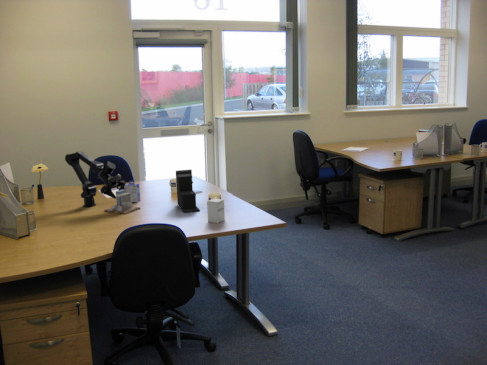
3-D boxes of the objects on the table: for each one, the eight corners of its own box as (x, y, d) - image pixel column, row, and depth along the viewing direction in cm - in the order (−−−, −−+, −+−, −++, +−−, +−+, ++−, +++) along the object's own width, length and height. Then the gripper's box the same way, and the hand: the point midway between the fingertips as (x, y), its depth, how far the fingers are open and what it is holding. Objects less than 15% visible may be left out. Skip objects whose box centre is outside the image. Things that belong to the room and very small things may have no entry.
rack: (104, 211, 302) (102, 194, 300) (119, 206, 314) (118, 190, 312) (125, 214, 294) (123, 197, 291) (140, 208, 306) (138, 192, 303)
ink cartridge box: (140, 200, 329) (139, 180, 326) (138, 202, 324) (136, 182, 321) (127, 200, 330) (125, 180, 327) (124, 202, 325) (122, 182, 322)
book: (117, 209, 302) (115, 191, 299) (123, 207, 307) (122, 189, 305) (120, 209, 300) (119, 191, 298) (127, 207, 306) (125, 189, 303)
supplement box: (218, 223, 267) (217, 202, 265) (207, 221, 271) (206, 200, 269) (225, 220, 274) (224, 199, 271) (214, 218, 277) (214, 198, 275)
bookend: (200, 211, 295) (198, 175, 290) (183, 213, 292) (181, 176, 287) (193, 203, 317) (191, 169, 312) (177, 204, 313) (175, 170, 309)
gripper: (101, 173, 293) (116, 191, 290) (122, 168, 309) (136, 186, 306) (94, 184, 299) (108, 202, 296) (115, 179, 315) (128, 196, 312)
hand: (120, 196), depth 302 cm, fingers open, 9 cm apart
